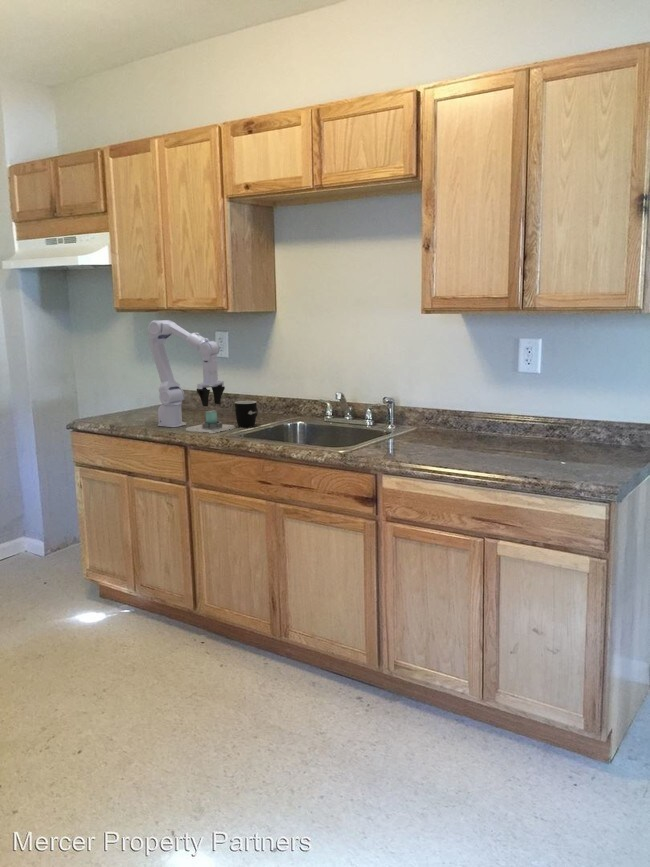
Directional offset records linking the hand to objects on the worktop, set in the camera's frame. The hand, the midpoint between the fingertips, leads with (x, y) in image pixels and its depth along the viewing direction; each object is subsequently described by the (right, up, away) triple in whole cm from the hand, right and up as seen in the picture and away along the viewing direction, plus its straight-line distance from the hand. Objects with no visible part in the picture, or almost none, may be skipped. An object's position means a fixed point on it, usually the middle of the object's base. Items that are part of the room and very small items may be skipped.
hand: (211, 405), depth 293 cm
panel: (0, -10, +1) cm, 10 cm away
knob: (0, -9, +2) cm, 9 cm away
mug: (+14, -9, +10) cm, 19 cm away
